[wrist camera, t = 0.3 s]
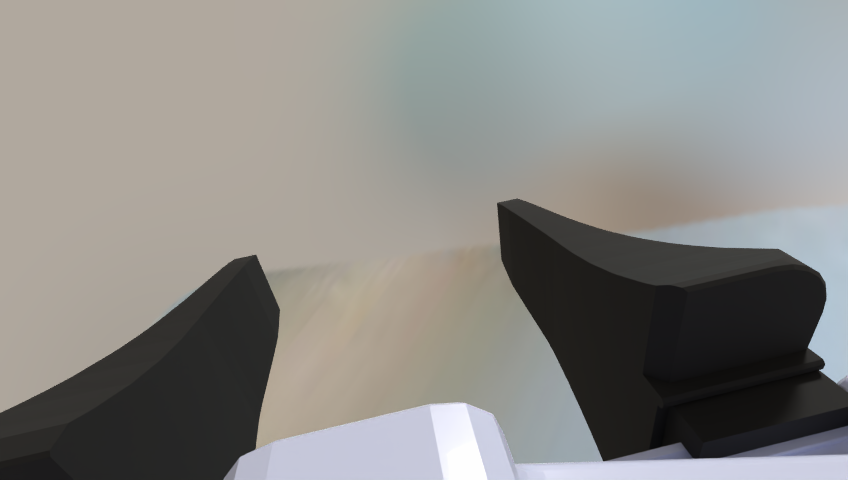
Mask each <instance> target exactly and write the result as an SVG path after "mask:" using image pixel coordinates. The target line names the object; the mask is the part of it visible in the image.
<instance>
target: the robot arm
mask: <svg viewBox="0 0 848 480" xmlns="http://www.w3.org/2000/svg"><path fill="white" fill-rule="evenodd" d="M497 207H498V220H499V232H500V245H501V258H502V262H503V264H504V267H505V269H506V271H507V274H508V276H509V278H510V280H511V283H512V285H513V287H514V288H515V290H516V292H517V293H518V295H519V296H520V298H521V300H522V301H523V303H524V304H525V306H526V307H527V309H528V311H529V312H530V314H531V315H532V317H533V318H534V320H535V322H536V323H537V325H538V326H539V328H540V330H541V331H542V333H543V334H544V336H545V337H546V339H547V341H548V342H549V344H550V346H551V348H552V349H553V351H554V353H555V355H556V357H557V359H558V361H559V363H560V366H561V368H562V370H563V372H564V374H565V376H566V378H567V380H568V382H569V384H570V386H571V389H572V391H573V393H574V395H575V397H576V400H577V402H578V404H579V406H580V408H581V410H582V413H583V415H584V417H585V420H586V422H587V424H588V427H589V429H590V431H591V433H592V436H593V438H594V440H595V443H596V445H597V447H598V450H599V452H600V454H601V457H602V459H603V461H601V462H567V463H532V464H514V461H513V458H512V455H511V452H510V450H509V447H508V444H507V441H506V438H505V436H504V433H503V431H502V429H501V428H500V426H499V424H498V422H497V421H496V419H495V417H494V416H493V414H492V413H489V412H486V411H484V410H481V409H479V408H476V407H474V406H471V405H468V404H466V403H462V402H458V403H440V404H428V405H424V406H419V407H415V408H411V409H407V410H403V411H398V412H394V413H390V414H386V415H382V416H377V417H373V418H369V419H365V420H360V421H356V422H352V423H348V424H344V425H339V426H335V427H331V428H327V429H323V430H318V431H314V432H310V433H306V434H302V435H297V436H293V437H289V438H285V439H281V440H276V441H274V442H272V443H270V444H267V445H265V446H263V447H260V448H258V449H256V450H255V448H256V440H257V431H258V423H259V417H260V412H261V407H262V402H263V398H264V394H265V390H266V386H267V382H268V378H269V373H270V369H271V365H272V361H273V357H274V352H275V348H276V344H277V339H278V329H279V314H280V309H279V306H278V304H277V302H276V299H275V297H274V295H273V293H272V290H271V288H270V286H269V283H268V281H267V279H266V277H265V274H264V272H263V270H262V267H261V265H260V263H259V261H258V258H257V256H256V255H252V256H248V257H243V258H239V259H235V260H233V261H231V262H230V263H228V264H227V265H226V266H225V267H223V268H222V269H221V270H220V271H218V272H217V273H216V274H215V275H214V276H212V277H211V278H210V279H209V280H208V281H207V282H205V283H204V284H203V285H202V286H201V287H200V288H198V289H197V290H196V291H195V292H194V293H193V294H191V295H190V296H189V297H188V298H187V299H185V300H184V301H183V302H182V303H181V304H179V305H178V306H177V307H175V308H174V309H173V310H172V311H170V312H169V313H168V314H167V315H165V316H164V317H163V318H162V319H160V320H159V321H158V322H157V323H155V324H154V325H153V326H151V327H150V328H149V329H147V330H146V331H144V332H143V333H142V334H140V335H139V336H137V337H136V338H134V339H133V340H131V341H130V342H128V343H127V344H125V345H124V346H122V347H121V348H120V349H118V350H116V351H115V352H113V353H112V354H110V355H108V356H107V357H105V358H103V359H102V360H100V361H98V362H96V363H95V364H93V365H91V366H90V367H88V368H86V369H85V370H83V371H81V372H80V373H78V374H76V375H74V376H73V377H71V378H69V379H67V380H65V381H64V382H62V383H60V384H58V385H56V386H54V387H52V388H50V389H48V390H46V391H45V392H43V393H41V394H39V395H37V396H34V397H32V398H31V399H29V400H27V401H25V402H22V403H20V404H18V405H16V406H14V407H12V408H10V409H8V410H6V411H4V412H2V413H0V480H848V375H847V376H846V377H844V378H843V379H842V380H840V381H839V382H838V383H837V384H836V383H835V382H834V381H832V380H831V379H830V378H828V377H827V376H826V375H825V374H823V373H822V372H821V371H819V370H821V369H823V368H824V366H825V363H824V361H823V359H822V358H821V357H819V356H818V355H817V354H815V353H814V352H813V351H811V350H810V349H809V348H808V345H809V343H810V341H811V338H812V336H813V334H814V331H815V329H816V327H817V324H818V322H819V320H820V317H821V315H822V313H823V309H824V306H825V302H826V284H825V281H824V280H823V278H822V276H821V275H820V273H819V272H817V271H815V270H814V269H812V268H810V267H809V266H807V265H805V264H804V263H802V262H800V261H799V260H797V259H795V258H793V257H792V256H790V255H788V254H787V253H785V252H783V251H781V250H779V249H753V248H717V247H704V246H691V245H682V244H673V243H666V242H659V241H653V240H646V239H641V238H636V237H631V236H627V235H622V234H618V233H614V232H610V231H606V230H602V229H599V228H596V227H593V226H589V225H586V224H583V223H580V222H577V221H575V220H572V219H569V218H566V217H564V216H561V215H559V214H556V213H553V212H551V211H549V210H546V209H544V208H541V207H538V206H536V205H534V204H531V203H529V202H526V201H523V200H520V199H513V200H509V201H504V202H499V203H497Z"/></svg>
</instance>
